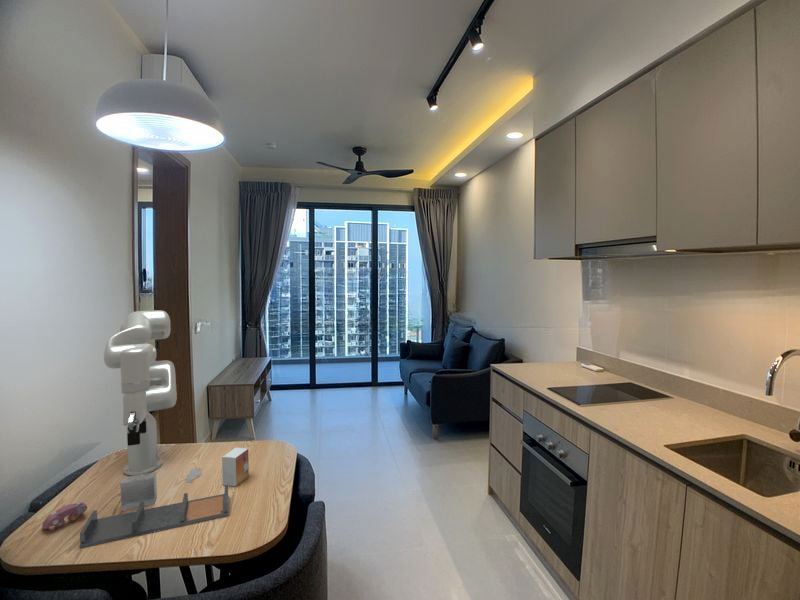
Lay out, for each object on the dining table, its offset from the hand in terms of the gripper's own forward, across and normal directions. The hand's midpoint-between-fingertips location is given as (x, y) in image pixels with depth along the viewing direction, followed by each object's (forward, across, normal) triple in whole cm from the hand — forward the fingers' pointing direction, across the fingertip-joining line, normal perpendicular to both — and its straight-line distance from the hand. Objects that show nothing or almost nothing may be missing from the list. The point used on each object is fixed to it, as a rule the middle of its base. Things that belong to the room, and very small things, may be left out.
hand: (137, 438), depth 125 cm
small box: (+22, -4, +29) cm, 37 cm away
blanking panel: (+22, 0, 0) cm, 22 cm away
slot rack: (+22, +12, +8) cm, 26 cm away
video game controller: (+22, +2, -18) cm, 29 cm away
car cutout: (+23, -8, +12) cm, 27 cm away
